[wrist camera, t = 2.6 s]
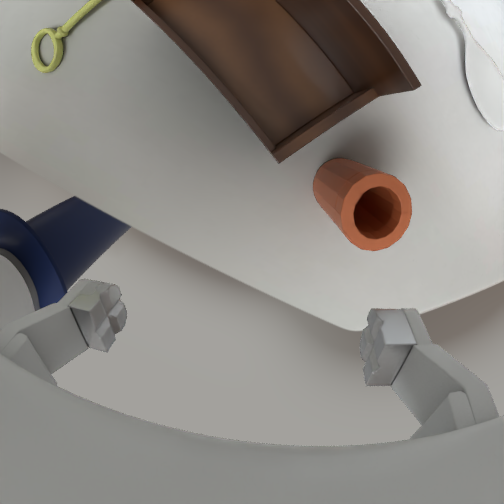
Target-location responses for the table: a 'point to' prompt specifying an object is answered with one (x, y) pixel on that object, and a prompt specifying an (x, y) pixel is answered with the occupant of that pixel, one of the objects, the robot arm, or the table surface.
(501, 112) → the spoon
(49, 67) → the key
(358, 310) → the table surface
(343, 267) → the table surface
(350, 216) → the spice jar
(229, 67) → the box
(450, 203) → the table surface
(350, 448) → the robot arm
